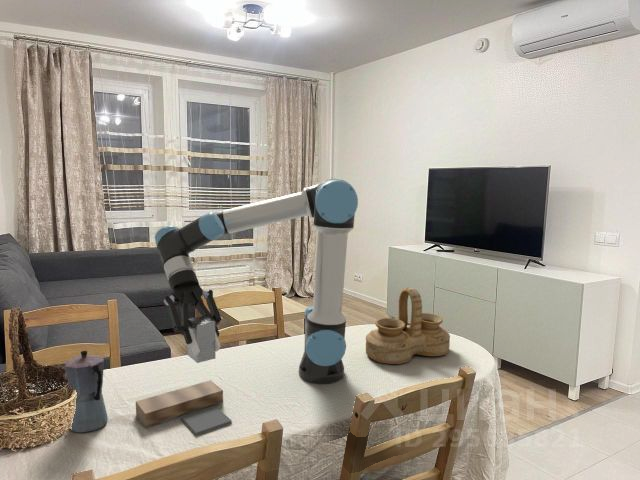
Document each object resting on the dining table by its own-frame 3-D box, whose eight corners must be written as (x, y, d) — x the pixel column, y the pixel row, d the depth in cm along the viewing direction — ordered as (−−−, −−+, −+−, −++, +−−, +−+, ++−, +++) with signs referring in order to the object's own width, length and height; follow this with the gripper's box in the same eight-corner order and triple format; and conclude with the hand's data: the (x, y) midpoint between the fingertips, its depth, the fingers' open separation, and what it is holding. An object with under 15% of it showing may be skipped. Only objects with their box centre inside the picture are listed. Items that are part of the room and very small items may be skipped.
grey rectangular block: (187, 355, 123) (187, 318, 122) (205, 351, 126) (205, 315, 125) (197, 363, 119) (196, 325, 117) (215, 358, 122) (215, 321, 120)
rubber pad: (215, 407, 132) (215, 405, 132) (231, 423, 124) (231, 420, 124) (180, 418, 126) (180, 416, 126) (196, 435, 118) (196, 432, 118)
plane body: (211, 392, 141) (210, 380, 140) (223, 403, 135) (222, 390, 134) (136, 415, 127) (135, 401, 127) (145, 428, 121) (145, 413, 121)
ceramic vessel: (384, 371, 159) (387, 300, 155) (356, 352, 175) (358, 287, 171) (460, 355, 174) (464, 290, 170) (428, 339, 190) (431, 279, 186)
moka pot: (92, 408, 130) (89, 340, 127) (124, 426, 122) (120, 353, 119) (57, 422, 123) (52, 350, 120) (88, 443, 114) (83, 366, 111)
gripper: (207, 279, 137) (234, 350, 127) (145, 287, 126) (169, 366, 116) (215, 265, 132) (244, 337, 122) (151, 272, 121) (176, 352, 111)
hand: (207, 351), depth 119 cm, fingers closed on grey rectangular block, 5 cm apart
